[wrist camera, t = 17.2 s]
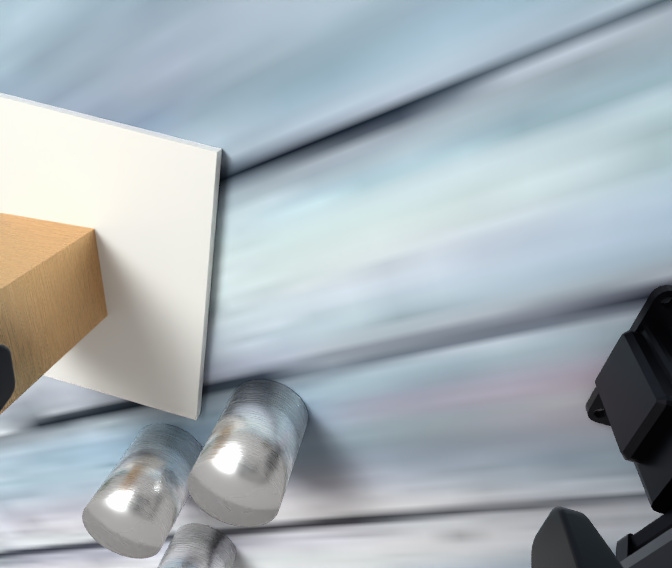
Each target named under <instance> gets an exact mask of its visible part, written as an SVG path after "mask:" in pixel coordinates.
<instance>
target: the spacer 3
mask: <svg viewBox="0 0 672 568" xmlns="http://www.w3.org/2000/svg"><path fill="white" fill-rule="evenodd" d="M307 423H308V412H307V409H306V406H305V404H304V402H303V401H302V400H301V398H300V397H299V396H298V395H297V394H296V393H295V392H294V391H292V390H291V389H289V388H288V387H286V386H284V385H282V384H280V383H277V382H274V381H270V380H251V381H247V382H245V383H243V384H241V385H239V386H238V387H237V388H236V389H235V390H234V392H233V394H232V396H231V397H230V399H229V401H228V403H227V405H226V407H225V409H224V410H223V412H222V414H221V416H220V418H219V420H218V422H217V423H216V425H215V427H214V429H213V431H212V433H211V435H210V437H209V438H208V440H207V442H206V444H205V446H204V448H203V450H202V451H201V453H200V455H199V457H198V459H197V461H196V463H195V464H194V466H193V468H192V470H191V472H190V474H189V476H188V481H187V484H188V490H189V492H190V495H191V497H192V498H193V500H194V501H195V502H196V504H197V505H198V506H199V507H200V508H201V509H203V510H204V511H205V512H206V513H208V514H209V515H211V516H212V517H214V518H216V519H218V520H220V521H223V522H225V523H228V524H231V525H236V526H242V527H255V526H260V525H264V524H266V523H268V522H270V521H271V520H273V519H274V518H275V516H276V515H277V513H278V511H279V508H280V505H281V502H282V499H283V496H284V493H285V490H286V487H287V484H288V481H289V478H290V475H291V472H292V469H293V466H294V463H295V460H296V457H297V454H298V451H299V448H300V445H301V442H302V439H303V435H304V432H305V429H306V426H307Z"/></svg>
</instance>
